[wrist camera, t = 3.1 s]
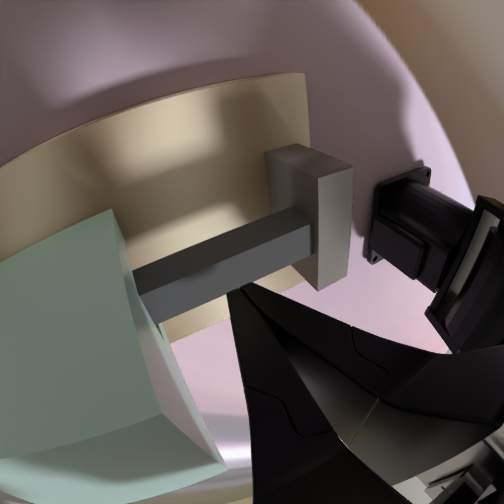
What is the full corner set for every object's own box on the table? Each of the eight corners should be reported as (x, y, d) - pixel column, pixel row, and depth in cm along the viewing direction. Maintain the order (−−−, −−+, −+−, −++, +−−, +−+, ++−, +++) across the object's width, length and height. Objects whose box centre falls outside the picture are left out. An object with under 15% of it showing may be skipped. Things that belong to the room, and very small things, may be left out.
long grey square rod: (315, 179, 12) (356, 202, 10) (316, 227, 13) (352, 254, 12) (-120, 379, 3) (-126, 409, 2) (-98, 402, 5) (-101, 432, 3)
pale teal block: (111, 208, 9) (162, 413, 4) (156, 306, 12) (229, 469, 7) (-16, 271, 8) (-52, 464, 2) (47, 352, 11) (69, 513, 5)
